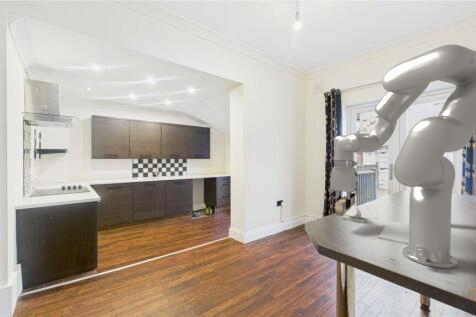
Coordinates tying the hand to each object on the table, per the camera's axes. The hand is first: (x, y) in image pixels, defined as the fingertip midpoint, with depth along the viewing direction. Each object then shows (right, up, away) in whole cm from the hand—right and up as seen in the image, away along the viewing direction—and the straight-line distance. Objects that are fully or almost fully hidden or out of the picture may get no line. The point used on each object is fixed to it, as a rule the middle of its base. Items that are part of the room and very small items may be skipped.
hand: (343, 207), depth 94 cm
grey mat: (+20, -9, -4) cm, 22 cm away
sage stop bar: (+9, -9, +11) cm, 17 cm away
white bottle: (+8, -3, +10) cm, 13 cm away
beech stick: (+2, -1, +2) cm, 3 cm away
